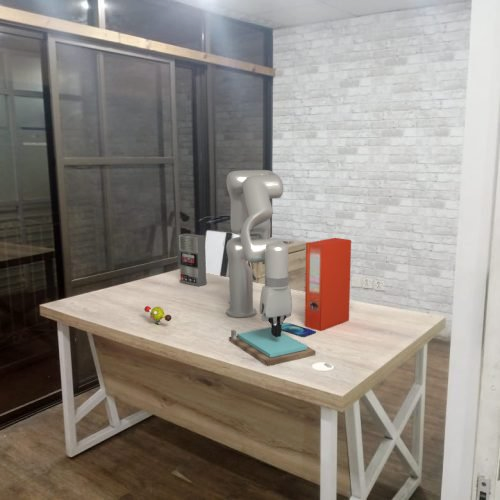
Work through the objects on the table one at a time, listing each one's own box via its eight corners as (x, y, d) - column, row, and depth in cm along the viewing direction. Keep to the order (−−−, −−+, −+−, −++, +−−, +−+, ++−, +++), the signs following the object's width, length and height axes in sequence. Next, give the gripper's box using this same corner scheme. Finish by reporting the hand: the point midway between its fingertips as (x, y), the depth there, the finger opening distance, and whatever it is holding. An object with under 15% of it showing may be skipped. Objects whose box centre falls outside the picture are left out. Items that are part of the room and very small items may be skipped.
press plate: (236, 336, 182) (236, 332, 182) (270, 330, 189) (270, 326, 188) (270, 357, 162) (270, 353, 162) (307, 349, 169) (307, 345, 168)
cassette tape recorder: (179, 282, 269) (177, 234, 265) (187, 280, 274) (186, 233, 269) (198, 286, 260) (196, 237, 256) (206, 284, 265) (205, 235, 261)
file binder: (349, 321, 203) (351, 239, 197) (321, 331, 191) (322, 245, 186) (332, 316, 209) (334, 237, 203) (304, 326, 197) (305, 242, 191)
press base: (229, 341, 182) (229, 329, 182) (273, 332, 191) (273, 321, 190) (267, 366, 160) (267, 352, 159) (315, 355, 168) (315, 342, 168)
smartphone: (303, 336, 185) (273, 326, 196) (303, 339, 185) (273, 328, 196) (317, 331, 190) (286, 322, 201) (317, 333, 190) (286, 324, 201)
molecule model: (139, 320, 207) (139, 303, 206) (152, 317, 211) (151, 301, 210) (163, 331, 194) (162, 313, 193) (176, 327, 197) (175, 310, 196)
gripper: (289, 276, 175) (289, 328, 178) (250, 282, 168) (250, 336, 171) (302, 281, 168) (301, 335, 172) (262, 287, 161) (262, 343, 165)
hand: (276, 335), depth 172 cm, fingers closed
